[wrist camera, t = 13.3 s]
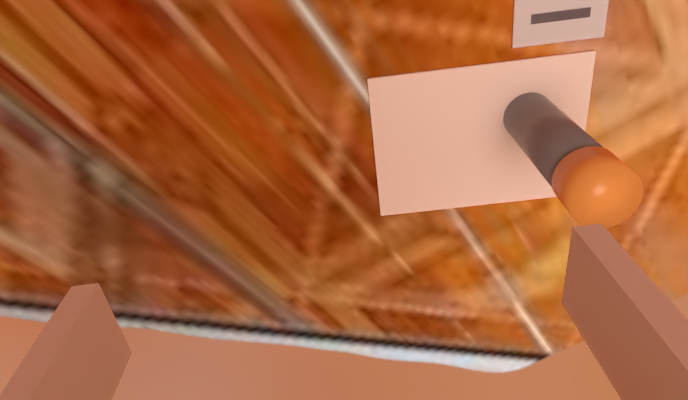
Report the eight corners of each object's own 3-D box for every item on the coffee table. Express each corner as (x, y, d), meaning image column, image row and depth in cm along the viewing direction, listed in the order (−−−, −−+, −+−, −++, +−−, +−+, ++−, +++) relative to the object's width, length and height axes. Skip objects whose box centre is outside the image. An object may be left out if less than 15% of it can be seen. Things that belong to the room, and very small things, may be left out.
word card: (511, 47, 39) (512, 48, 39) (514, -7, 37) (515, -7, 37) (602, 36, 38) (604, 37, 38) (610, -20, 36) (612, -19, 36)
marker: (502, 142, 43) (568, 233, 30) (501, 95, 40) (572, 173, 28) (552, 134, 42) (639, 223, 30) (553, 87, 40) (648, 162, 28)
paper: (380, 214, 46) (380, 215, 46) (366, 78, 40) (367, 79, 40) (575, 192, 46) (577, 194, 45) (594, 50, 39) (596, 50, 39)
